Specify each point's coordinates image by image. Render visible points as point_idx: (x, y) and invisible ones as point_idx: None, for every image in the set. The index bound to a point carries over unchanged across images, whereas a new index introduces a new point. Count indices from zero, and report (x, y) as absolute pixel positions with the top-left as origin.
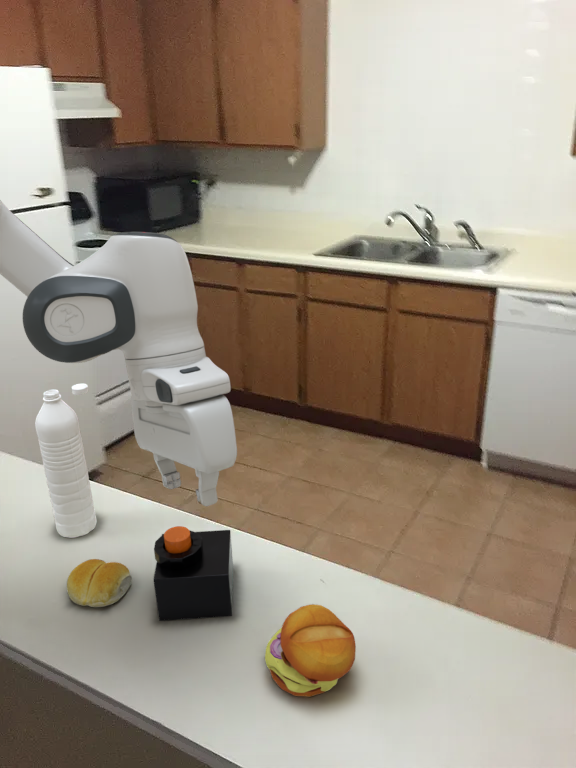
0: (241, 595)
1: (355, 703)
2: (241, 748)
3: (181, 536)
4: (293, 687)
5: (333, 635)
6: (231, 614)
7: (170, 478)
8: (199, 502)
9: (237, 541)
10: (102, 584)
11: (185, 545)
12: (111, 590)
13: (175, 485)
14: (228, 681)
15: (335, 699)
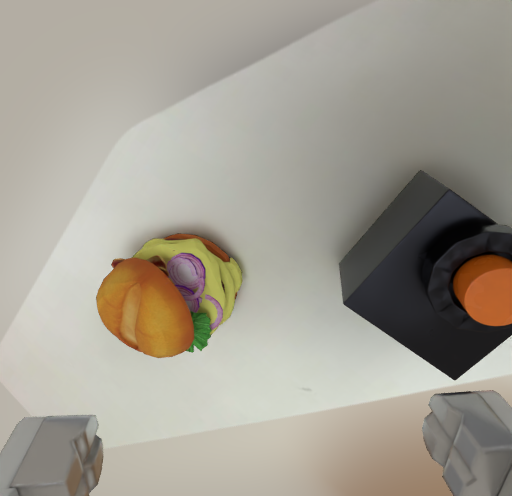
0: None
1: None
2: (137, 142)
3: (480, 300)
4: (148, 242)
5: (125, 329)
6: (339, 264)
7: (463, 449)
8: (64, 419)
9: (482, 369)
10: None
11: (458, 291)
12: None
13: (435, 424)
14: (236, 189)
15: None
